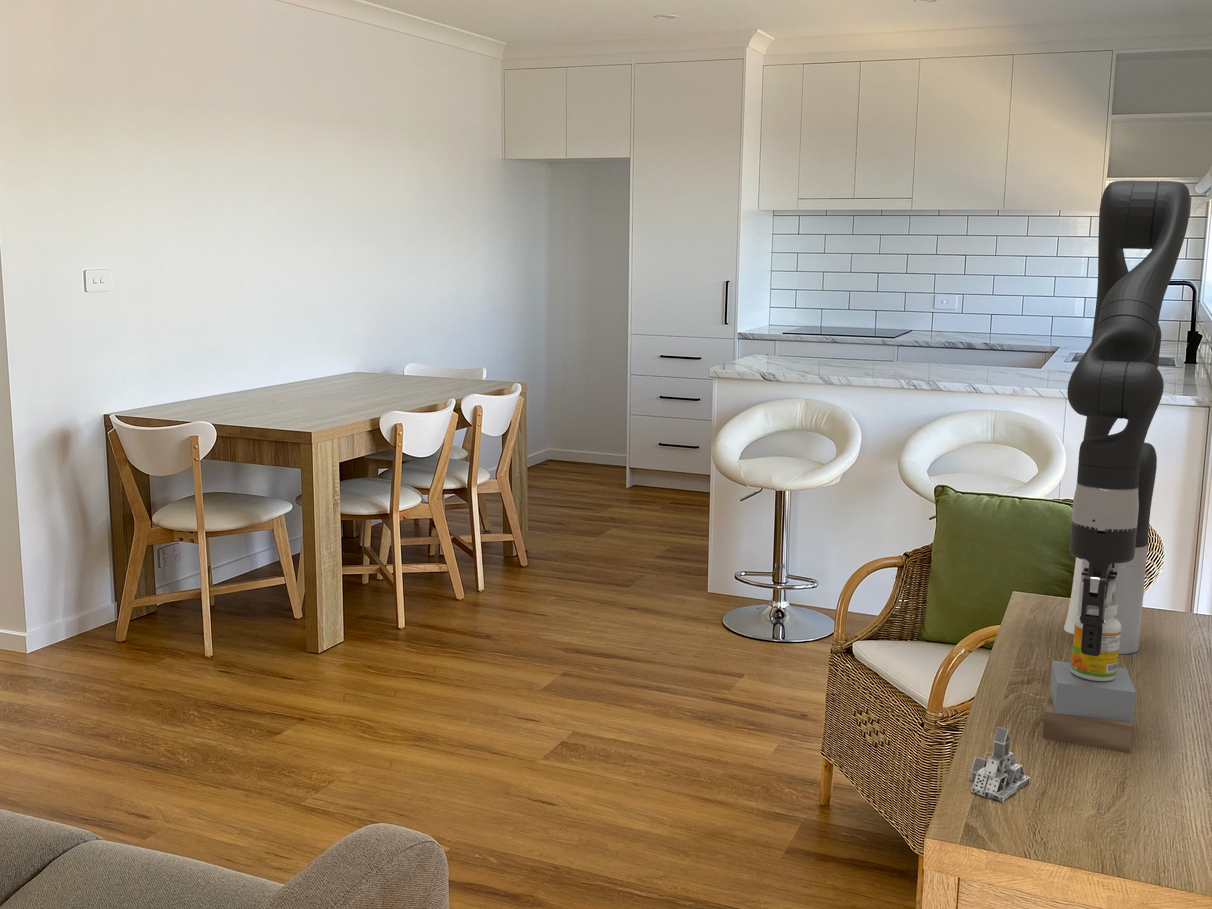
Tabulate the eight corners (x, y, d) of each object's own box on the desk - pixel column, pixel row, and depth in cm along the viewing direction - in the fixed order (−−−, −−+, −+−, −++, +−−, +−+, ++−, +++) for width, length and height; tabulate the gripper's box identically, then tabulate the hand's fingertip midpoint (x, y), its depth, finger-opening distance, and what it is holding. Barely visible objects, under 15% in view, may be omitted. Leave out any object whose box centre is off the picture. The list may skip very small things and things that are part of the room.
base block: (1049, 715, 148) (1051, 686, 148) (1131, 728, 144) (1133, 699, 143) (1042, 741, 139) (1045, 711, 139) (1129, 757, 135) (1132, 726, 134)
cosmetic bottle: (1096, 627, 187) (1106, 500, 183) (1108, 638, 181) (1119, 507, 177) (1059, 625, 187) (1068, 499, 184) (1070, 636, 181) (1080, 506, 178)
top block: (1050, 689, 147) (1052, 660, 146) (1123, 698, 144) (1126, 668, 143) (1054, 713, 138) (1057, 682, 138) (1133, 723, 135) (1135, 692, 135)
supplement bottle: (1066, 665, 144) (1074, 593, 142) (1110, 670, 142) (1119, 598, 141) (1073, 679, 138) (1081, 604, 137) (1119, 684, 137) (1128, 609, 136)
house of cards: (966, 760, 133) (970, 700, 132) (1037, 783, 127) (1042, 720, 126) (929, 783, 127) (933, 720, 126) (1001, 808, 121) (1006, 742, 120)
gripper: (1078, 507, 145) (1069, 625, 148) (1064, 527, 133) (1055, 655, 136) (1141, 514, 142) (1130, 634, 144) (1133, 534, 130) (1121, 666, 132)
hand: (1094, 644), depth 140 cm, fingers open, 8 cm apart
